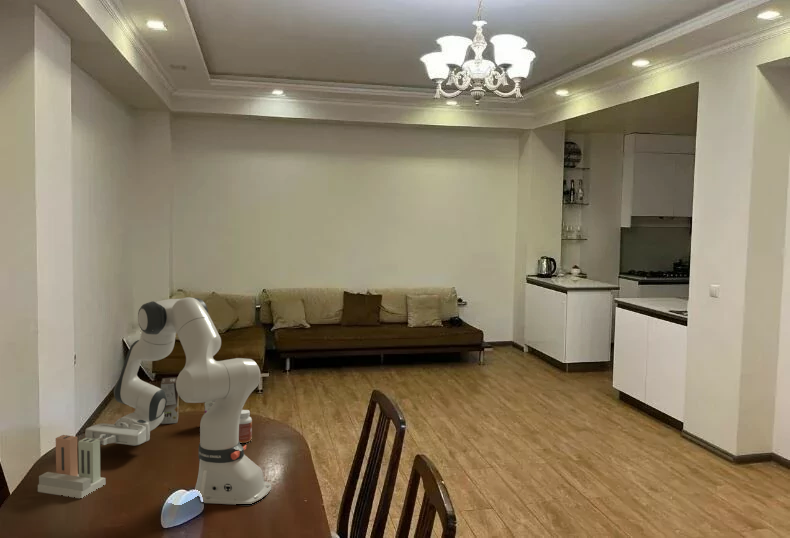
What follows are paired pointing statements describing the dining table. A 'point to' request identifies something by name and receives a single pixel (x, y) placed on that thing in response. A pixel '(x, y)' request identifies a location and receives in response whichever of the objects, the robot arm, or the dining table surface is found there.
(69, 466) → the orange-brown upright block
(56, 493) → the tile board
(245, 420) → the pill bottle
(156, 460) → the dining table surface
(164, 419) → the coffee box
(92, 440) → the pale green tall block
